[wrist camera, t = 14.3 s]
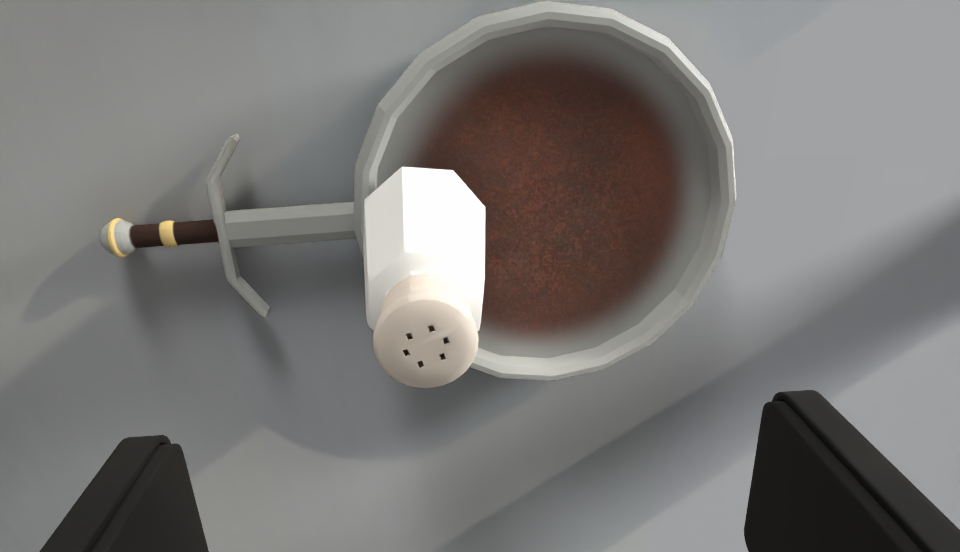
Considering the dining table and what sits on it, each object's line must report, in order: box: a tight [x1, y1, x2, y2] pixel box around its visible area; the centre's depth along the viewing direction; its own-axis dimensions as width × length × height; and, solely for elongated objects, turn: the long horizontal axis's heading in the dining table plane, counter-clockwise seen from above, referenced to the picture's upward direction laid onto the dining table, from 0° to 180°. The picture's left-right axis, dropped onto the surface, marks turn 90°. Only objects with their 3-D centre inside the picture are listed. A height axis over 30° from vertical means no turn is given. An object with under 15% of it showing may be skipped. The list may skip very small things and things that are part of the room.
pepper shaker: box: [363, 167, 485, 388], centre depth 22 cm, size 5×5×11 cm
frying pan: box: [100, 1, 736, 381], centre depth 28 cm, size 17×3×28 cm
